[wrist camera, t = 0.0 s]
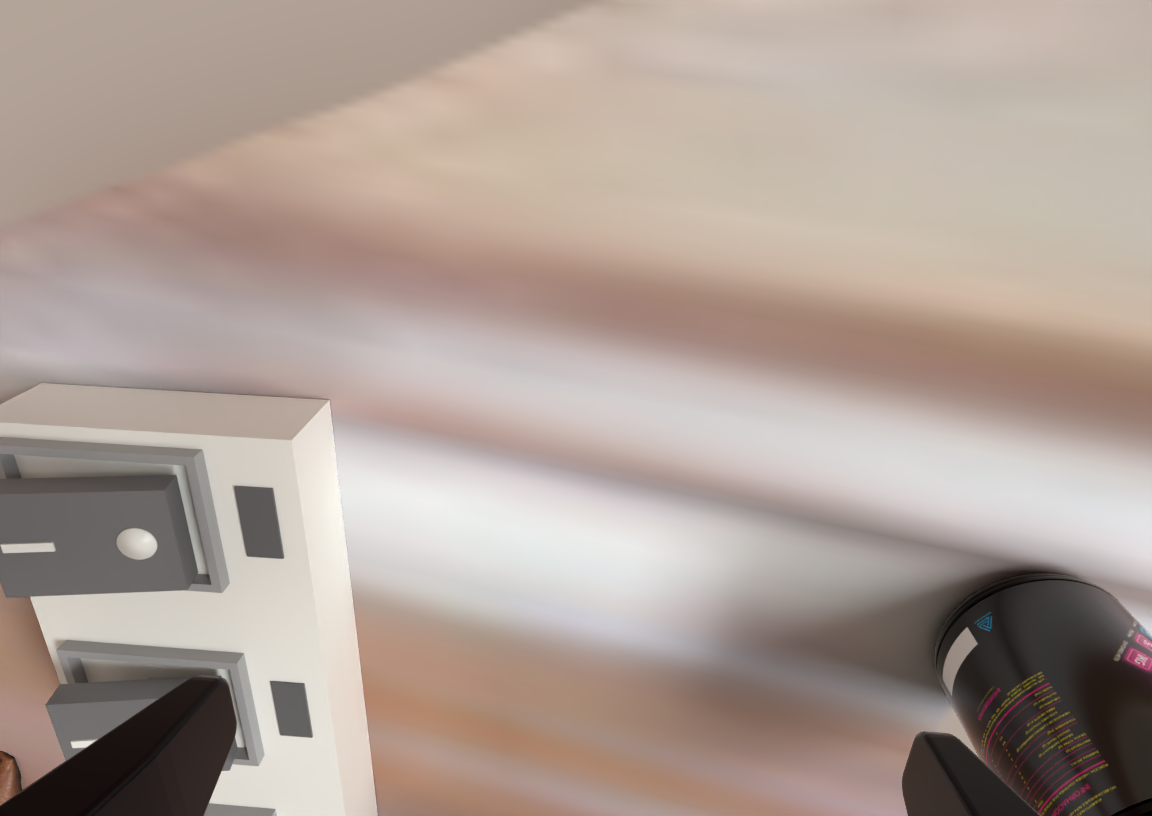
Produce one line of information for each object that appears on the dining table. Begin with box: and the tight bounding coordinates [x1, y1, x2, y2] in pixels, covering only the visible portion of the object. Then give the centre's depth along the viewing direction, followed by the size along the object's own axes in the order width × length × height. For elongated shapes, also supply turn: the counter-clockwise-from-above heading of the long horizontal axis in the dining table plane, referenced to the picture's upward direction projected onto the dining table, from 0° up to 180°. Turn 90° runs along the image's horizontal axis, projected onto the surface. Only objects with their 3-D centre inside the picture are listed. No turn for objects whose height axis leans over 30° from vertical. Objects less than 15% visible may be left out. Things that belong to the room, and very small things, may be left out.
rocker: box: [0, 475, 198, 598], centre depth 22 cm, size 4×5×1 cm
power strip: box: [0, 383, 378, 816], centre depth 28 cm, size 28×10×4 cm, turn 178°
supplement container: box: [935, 573, 1152, 816], centre depth 22 cm, size 7×7×10 cm
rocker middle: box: [46, 675, 238, 771], centre depth 25 cm, size 4×5×1 cm
